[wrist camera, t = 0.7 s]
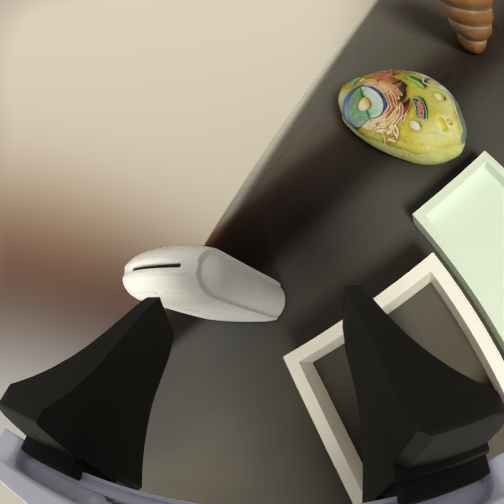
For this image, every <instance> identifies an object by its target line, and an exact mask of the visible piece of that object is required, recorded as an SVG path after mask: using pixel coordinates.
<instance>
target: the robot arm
mask: <svg viewBox="0 0 504 504" xmlns="http://www.w3.org/2000/svg"><path fill="white" fill-rule="evenodd" d="M342 328H343V335H344V342H345V350H346V354H347V358H348V362H349V366H350V370H351V374H352V378H353V382H354V386H355V391H356V395H357V400H358V406H359V414H360V425H361V438H362V459H363V491H362V503H359V504H504V452H502V453H500V454H498V455H497V456H495V457H493V458H491V459H490V460H488V461H487V458H486V454H487V453H488V452H489V446H488V443H487V442H488V441H489V440H490V439H491V438H492V437H493V436H494V435H495V434H496V433H497V432H498V431H499V430H500V429H501V428H502V426H503V425H504V403H503V401H502V398H501V396H500V394H499V393H498V391H497V390H495V389H492V388H490V387H488V386H485V385H483V384H481V383H479V382H476V381H474V380H472V379H470V378H468V377H467V376H465V375H463V374H461V373H459V372H458V371H456V370H454V369H453V368H451V367H449V366H448V365H446V364H445V363H443V362H442V361H440V360H439V359H437V358H436V357H434V356H433V355H432V354H430V353H429V352H428V351H426V350H425V349H424V348H423V347H421V346H420V345H419V344H418V343H416V342H415V341H414V340H413V339H412V338H411V337H409V336H408V335H407V334H406V333H405V332H404V331H403V330H402V329H401V328H400V327H399V326H398V325H397V324H396V323H395V322H394V321H393V320H392V319H391V318H390V317H389V316H388V315H387V314H386V313H385V311H384V310H383V309H382V308H381V307H380V306H379V305H378V304H377V303H376V301H375V300H374V299H373V298H372V297H371V296H370V294H369V293H368V292H367V291H366V290H365V289H364V287H363V286H362V285H355V286H345V297H344V313H343V326H342ZM173 337H174V332H173V330H172V327H171V325H170V322H169V320H168V317H167V315H166V312H165V310H164V307H163V304H162V302H161V299H160V297H147V298H145V299H144V300H142V301H141V302H140V303H139V304H138V305H136V306H135V307H134V308H133V309H131V310H130V311H129V312H128V313H127V314H126V315H125V316H123V317H122V318H121V319H120V320H119V321H118V322H116V323H115V324H114V325H113V326H112V327H111V328H109V329H108V330H107V331H106V332H104V333H103V334H102V335H101V336H100V337H98V338H97V339H96V340H95V341H93V342H92V343H91V344H89V345H88V346H87V347H85V348H84V349H82V350H81V351H79V352H78V353H76V354H75V355H73V356H72V357H70V358H69V359H67V360H65V361H63V362H61V363H60V364H58V365H56V366H54V367H53V368H51V369H48V370H46V371H44V372H42V373H40V374H38V375H35V376H33V377H30V378H28V379H25V380H22V381H19V382H16V383H13V384H11V385H10V386H9V387H8V389H7V390H6V392H5V393H4V395H3V397H2V398H1V400H0V410H1V412H2V413H3V414H4V415H5V416H6V417H7V418H8V419H9V420H10V421H11V422H12V423H13V424H14V425H15V426H16V427H17V428H19V429H20V430H21V431H22V432H23V433H24V434H25V435H26V439H25V440H23V439H22V438H20V437H19V436H17V435H15V434H14V433H12V432H11V431H9V430H7V429H4V431H3V433H2V435H1V437H0V482H1V483H2V484H3V485H5V486H6V487H7V488H8V489H9V490H11V491H12V492H13V493H14V494H15V495H16V496H17V497H19V498H20V499H21V500H22V501H23V502H25V503H26V504H115V503H114V501H115V502H118V503H121V504H198V503H192V502H186V501H181V500H175V499H171V498H166V497H162V496H157V495H153V494H149V493H145V492H141V491H138V490H139V489H140V488H142V464H143V453H144V444H145V438H146V431H147V425H148V421H149V416H150V411H151V407H152V403H153V400H154V397H155V394H156V391H157V388H158V386H159V383H160V380H161V377H162V375H163V372H164V369H165V366H166V364H167V361H168V358H169V355H170V351H171V347H172V342H173Z"/></svg>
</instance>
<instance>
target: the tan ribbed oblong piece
mask: <svg viewBox="0 0 504 504" xmlns="http://www.w3.org/2000/svg"><path fill="white" fill-rule="evenodd" d="M440 1H441V5H442V8H443V10H444V12H445V13H446V15H447V16H448V17H449V18H448V19H449V23H450V26H451V27H452V29H453V30H454V31H455V32H456V33H457V37H458V39H459V41H460V43H461V44H462V46H463V47H464V48H465V49H466V50H467V51H469V52H471V53H474V54H480V53H482V52H483V51H484V49H485V47H486V44H487V39H488V37H490V36H491V34H492V25H491V24H492V22H493V18H494V16H493V11H492V9H491V8H492V5H493V0H440Z"/></svg>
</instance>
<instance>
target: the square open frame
mask: <svg viewBox="0 0 504 504" xmlns="http://www.w3.org/2000/svg"><path fill="white" fill-rule="evenodd" d="M429 282H431V283H432V284H433V286H434V287H435V289H436V290H437V291H438V293H439V294H440V296H441V297H442V299H443V300H444V302H445V303H446V305H447V306H448V308H449V309H450V311H451V313H452V314H453V316H454V317H455V319H456V320H457V322H458V324H459V325H460V327H461V329H462V330H463V332H464V333H465V335H466V337H467V339H468V340H469V342H470V344H471V345H472V347H473V349H474V351H475V352H476V354H477V356H478V358H479V360H480V361H481V363H482V365H483V367H484V369H485V371H486V373H487V375H488V377H489V379H490V381H491V383H492V385H493V387H494V389H495V390H497V391H498V393H499V394H500V396H501V398H502V401H503V403H504V361H503V359H502V357H501V355H500V353H499V352H498V350H497V348H496V346H495V344H494V343H493V341H492V339H491V337H490V336H489V334H488V332H487V331H486V329H485V327H484V326H483V324H482V322H481V321H480V319H479V317H478V316H477V314H476V313H475V311H474V309H473V308H472V306H471V305H470V303H469V302H468V300H467V299H466V297H465V296H464V294H463V293H462V291H461V290H460V288H459V287H458V286H457V284H456V283H455V281H454V280H453V278H452V277H451V276H450V274H449V273H448V272H447V270H446V269H445V267H444V266H443V265H442V263H441V262H440V261H439V259H438V258H437V257H436V256H435V254H434V253H432V254H430V255H429V256H428V257H427V258H425V259H424V260H423V261H422V262H421V263H419V264H418V265H417V266H416V267H414V268H413V269H412V270H410V271H409V272H408V273H407V274H405V275H404V276H403V277H401V278H400V279H399V280H398V281H396V282H395V283H394V284H392V285H391V286H390V287H388V288H387V289H386V290H384V291H383V292H381V293H380V294H379V295H377V296H376V297H375V298H373V299H374V300H375V301H376V303H377V304H378V305H379V306H380V307H381V308H382V309H383V310H384V311H385V313H386V314H389V313H390V312H391V311H393V310H394V309H395V308H397V307H398V306H400V305H401V304H402V303H404V302H405V301H406V300H408V299H409V298H410V297H412V296H413V295H414V294H416V293H417V292H418V291H419V290H421V289H422V288H423V287H424V286H426V285H427V284H428V283H429ZM342 326H343V320H341V321H340V322H338V323H337V324H335V325H334V326H332V327H331V328H329V329H328V330H326V331H325V332H323V333H321V334H320V335H318V336H317V337H315V338H313V339H312V340H310V341H309V342H307V343H305V344H304V345H302V346H300V347H299V348H297V349H295V350H294V351H292V352H290V353H289V354H287V355H285V356H284V357H283V358H284V360H285V362H286V365H287V367H288V369H289V371H290V373H291V375H292V377H293V380H294V382H295V384H296V386H297V388H298V390H299V392H300V395H301V397H302V399H303V401H304V403H305V405H306V407H307V409H308V412H309V414H310V416H311V418H312V420H313V422H314V424H315V426H316V428H317V431H318V433H319V435H320V437H321V439H322V441H323V443H324V445H325V447H326V449H327V451H328V454H329V456H330V458H331V460H332V462H333V464H334V466H335V468H336V470H337V472H338V474H339V476H340V478H341V480H342V482H343V484H344V486H345V489H346V491H347V493H348V495H349V497H350V499H351V501H352V503H353V504H359V503H362V491H363V464H362V461H361V459H360V457H359V455H358V453H357V451H356V449H355V447H354V445H353V443H352V441H351V439H350V437H349V435H348V433H347V431H346V429H345V427H344V425H343V423H342V421H341V419H340V417H339V415H338V413H337V411H336V409H335V406H334V404H333V402H332V400H331V398H330V396H329V394H328V392H327V390H326V388H325V386H324V384H323V382H322V380H321V378H320V376H319V374H318V372H317V370H316V368H315V366H314V364H313V362H314V361H316V360H318V359H319V358H321V357H323V356H324V355H326V354H328V353H329V352H331V351H333V350H334V349H336V348H338V347H339V346H341V345H342V344H344V343H345V342H344V335H343V328H342Z"/></svg>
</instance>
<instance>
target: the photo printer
mask: <svg viewBox="0 0 504 504" xmlns="http://www.w3.org/2000/svg"><path fill="white" fill-rule="evenodd" d="M123 283H124V286H125V288H126V289H127V291H128V292H129V293H130V294H131V295H132V296H133V297H135V298H137V299H139V300H144V299H145V298H147V297H160V299H161V302H162V304H163V307H165V308H168V309H171V310H175V311H178V312H182V313H186V314H189V315H193V316H197V317H201V318H205V319H210V320H220V321H236V322H264V321H273V320H277V319H278V316H279V315H280V314H281V313H282V311H283V309H284V305H285V294H284V291H283V289H282V288H281V287H280V286H281V284H280V283H279V282H278V281H276V280H274V279H272V278H270V277H268V276H266V275H264V274H263V273H261V272H259V271H257V270H255V269H253V268H251V267H250V266H248V265H246V264H244V263H242V262H240V261H238V260H237V259H235V258H233V257H231V256H229V255H227V254H226V253H224V252H222V251H220V250H218V249H215V248H211V247H206V246H202V245H181V246H170V247H163V248H158V249H154V250H150V251H147V252H144V253H142V254H140V255H137V256H136V257H134V258H133V259H132V260H130V261H129V263H128V264H127V265H126V266H125V275H124V277H123Z"/></svg>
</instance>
